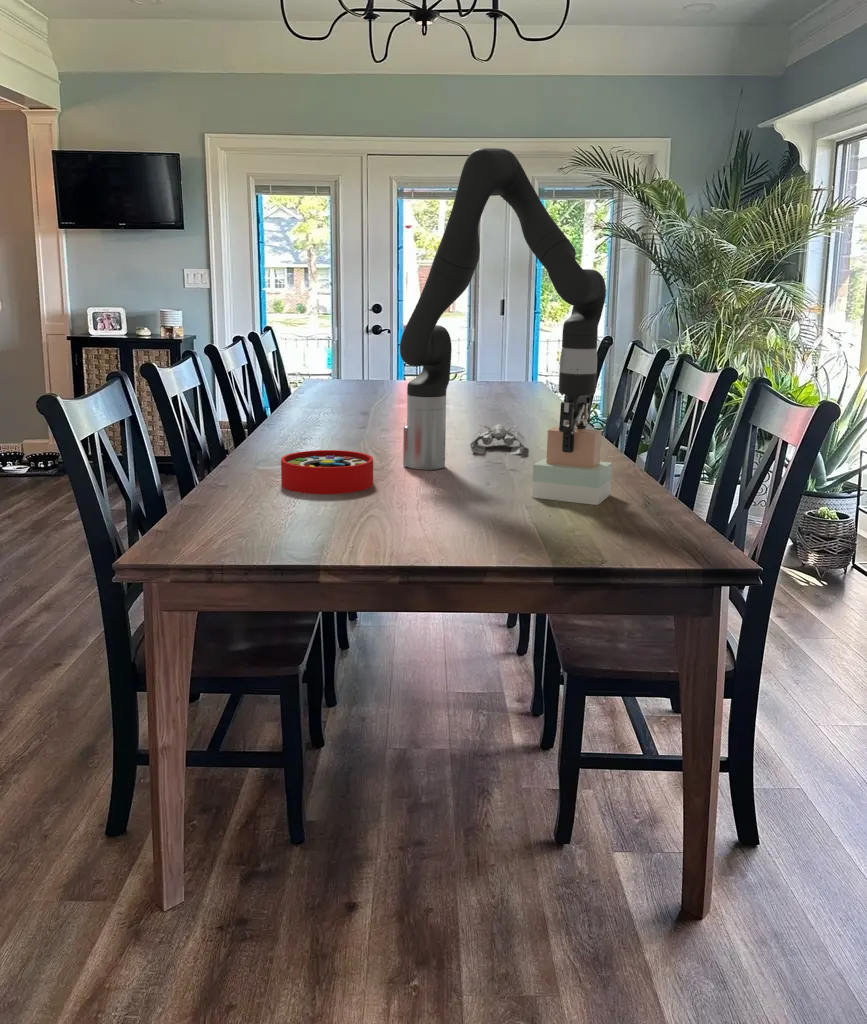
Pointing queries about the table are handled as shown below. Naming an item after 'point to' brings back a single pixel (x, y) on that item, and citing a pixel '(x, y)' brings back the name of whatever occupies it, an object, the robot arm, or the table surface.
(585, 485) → the green and white block
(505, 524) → the table surface
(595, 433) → the terracotta brick
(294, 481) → the toy clock
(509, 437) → the spaceship toy
